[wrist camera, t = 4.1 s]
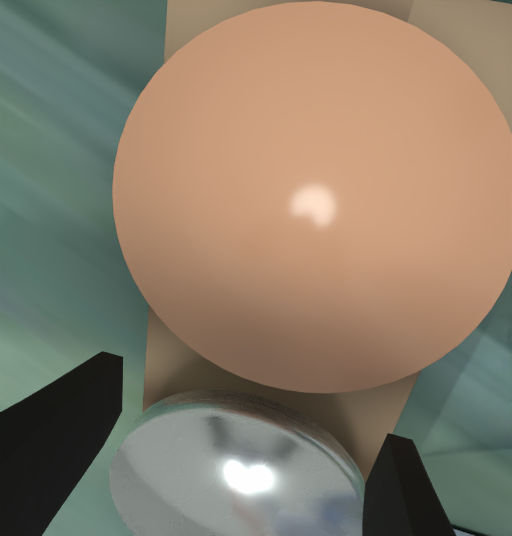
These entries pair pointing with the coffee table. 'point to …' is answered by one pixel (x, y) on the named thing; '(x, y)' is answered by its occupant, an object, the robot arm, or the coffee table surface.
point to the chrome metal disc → (234, 471)
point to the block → (384, 396)
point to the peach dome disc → (316, 197)
